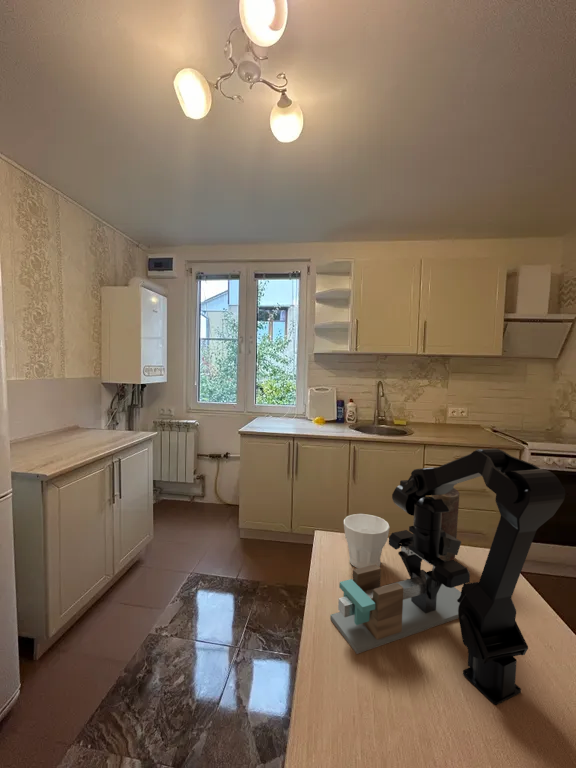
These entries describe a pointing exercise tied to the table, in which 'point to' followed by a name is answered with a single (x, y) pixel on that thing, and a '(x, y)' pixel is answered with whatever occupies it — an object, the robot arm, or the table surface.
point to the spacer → (358, 600)
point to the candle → (449, 517)
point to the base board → (411, 621)
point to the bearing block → (381, 602)
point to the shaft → (411, 589)
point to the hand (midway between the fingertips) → (423, 592)
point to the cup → (365, 538)
